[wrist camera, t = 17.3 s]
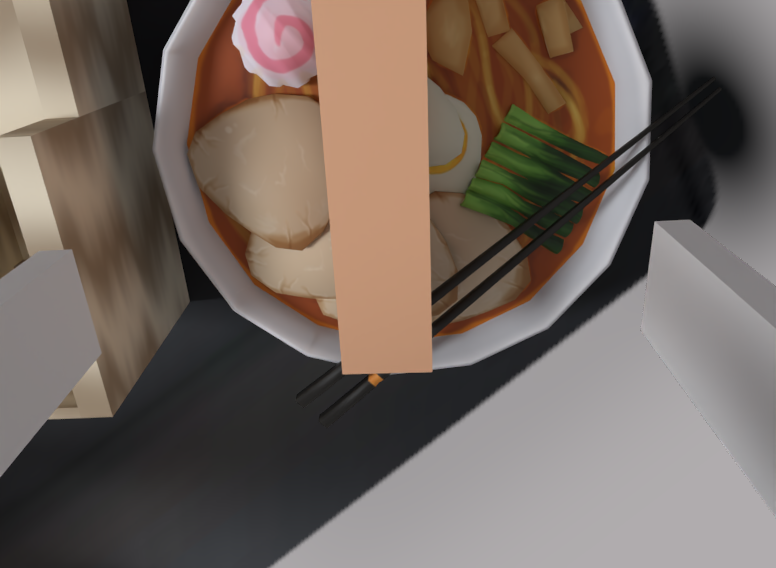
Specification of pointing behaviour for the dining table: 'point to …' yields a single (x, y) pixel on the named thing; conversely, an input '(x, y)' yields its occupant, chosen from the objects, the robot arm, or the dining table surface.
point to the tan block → (377, 179)
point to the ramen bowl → (446, 166)
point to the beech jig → (88, 182)
